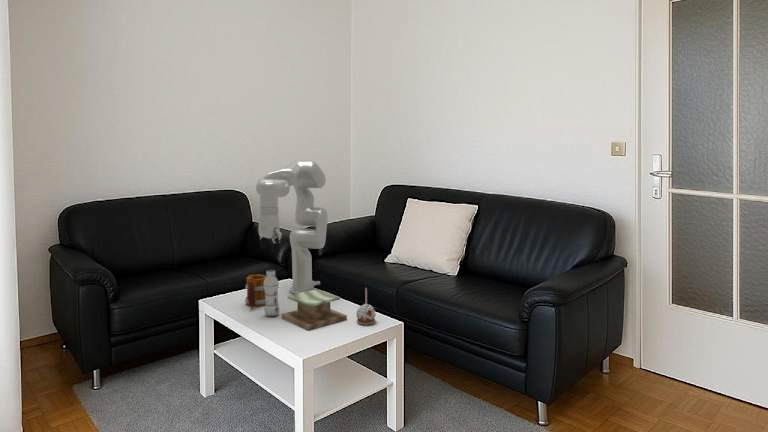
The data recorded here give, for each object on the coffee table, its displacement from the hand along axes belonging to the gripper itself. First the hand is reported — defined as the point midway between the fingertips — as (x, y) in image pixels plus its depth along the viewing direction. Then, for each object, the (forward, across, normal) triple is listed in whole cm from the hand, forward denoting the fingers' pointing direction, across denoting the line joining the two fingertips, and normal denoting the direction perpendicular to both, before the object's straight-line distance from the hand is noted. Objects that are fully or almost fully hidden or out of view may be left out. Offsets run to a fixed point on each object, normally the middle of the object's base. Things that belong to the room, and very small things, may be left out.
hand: (270, 250), depth 257 cm
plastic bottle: (+29, 0, 0) cm, 29 cm away
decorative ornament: (+30, +34, +26) cm, 51 cm away
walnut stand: (+29, +16, +12) cm, 35 cm away
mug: (+29, -17, +2) cm, 34 cm away
